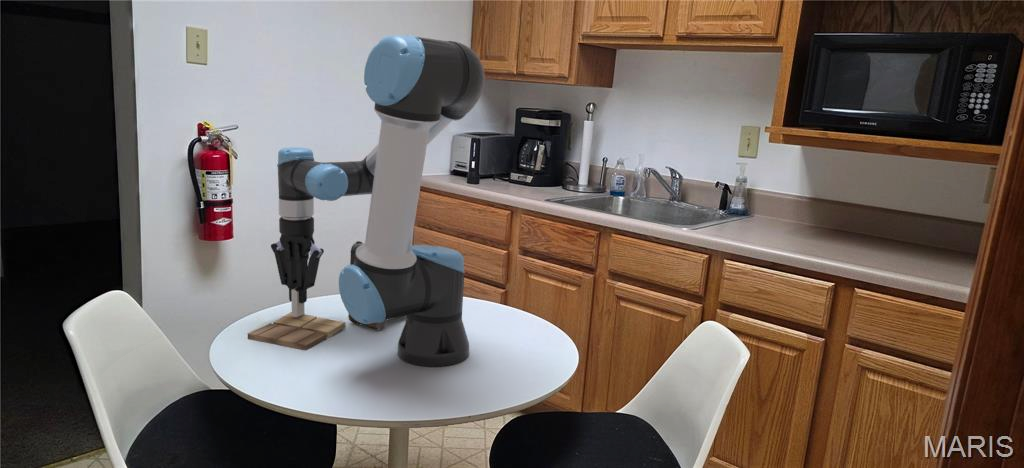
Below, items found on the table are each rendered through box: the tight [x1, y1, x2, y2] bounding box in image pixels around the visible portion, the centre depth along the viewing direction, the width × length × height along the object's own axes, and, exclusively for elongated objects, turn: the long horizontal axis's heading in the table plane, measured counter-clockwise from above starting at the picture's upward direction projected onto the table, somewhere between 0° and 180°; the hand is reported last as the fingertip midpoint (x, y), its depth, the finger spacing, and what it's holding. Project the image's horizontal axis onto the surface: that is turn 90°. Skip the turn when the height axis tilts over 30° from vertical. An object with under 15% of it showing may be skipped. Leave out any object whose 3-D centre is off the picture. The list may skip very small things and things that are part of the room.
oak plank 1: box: [272, 311, 318, 329], centre depth 155 cm, size 7×6×1 cm
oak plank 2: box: [301, 316, 346, 338], centre depth 153 cm, size 7×6×1 cm
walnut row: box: [247, 322, 328, 351], centre depth 147 cm, size 15×8×1 cm, turn 71°
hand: (298, 315), depth 157 cm, fingers closed
